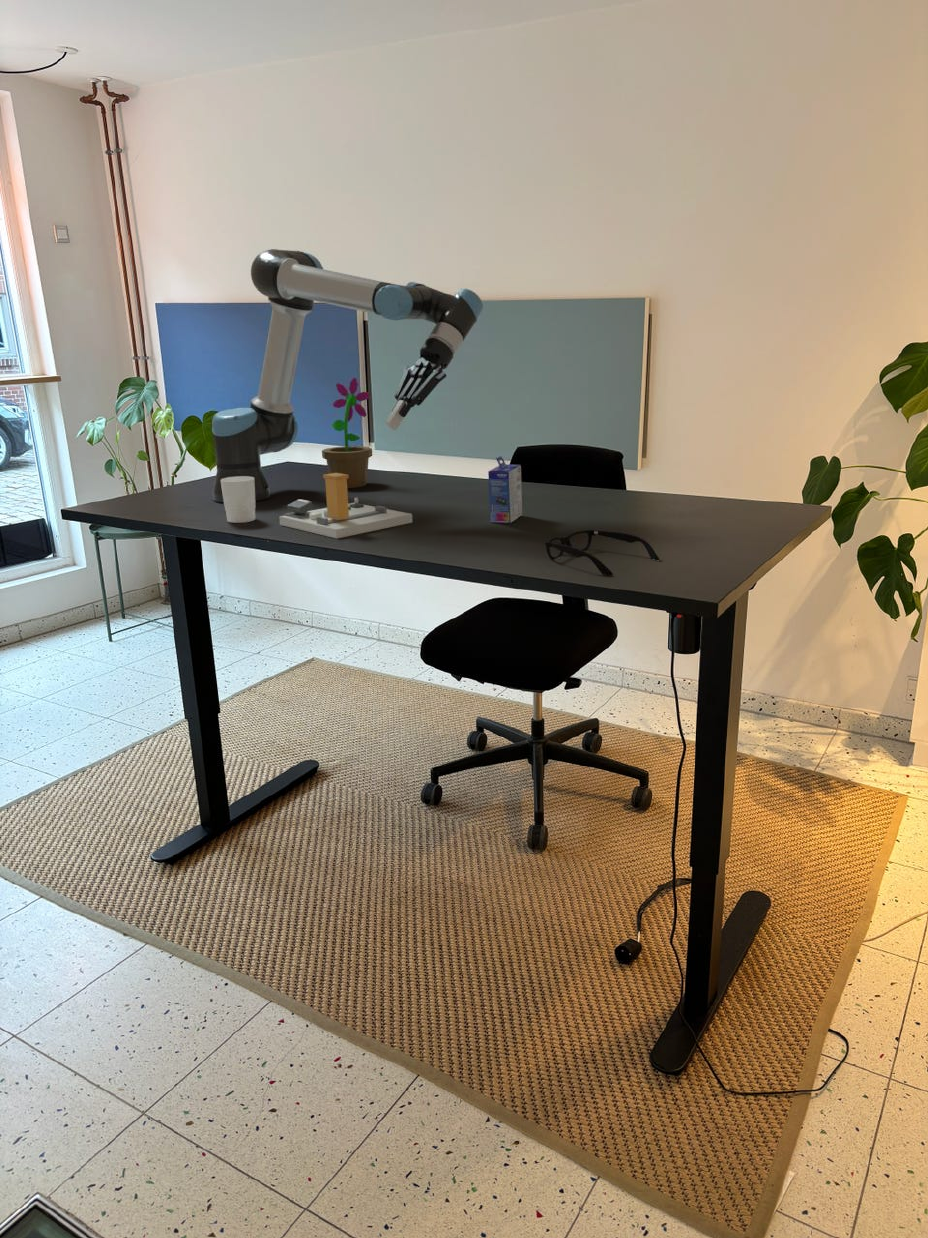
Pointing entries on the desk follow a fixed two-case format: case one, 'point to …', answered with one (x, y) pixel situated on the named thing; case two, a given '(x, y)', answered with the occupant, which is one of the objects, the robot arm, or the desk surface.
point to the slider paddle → (337, 495)
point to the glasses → (581, 553)
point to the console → (346, 520)
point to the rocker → (300, 506)
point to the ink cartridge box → (505, 492)
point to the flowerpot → (349, 457)
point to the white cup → (239, 498)
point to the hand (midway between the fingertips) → (390, 425)
